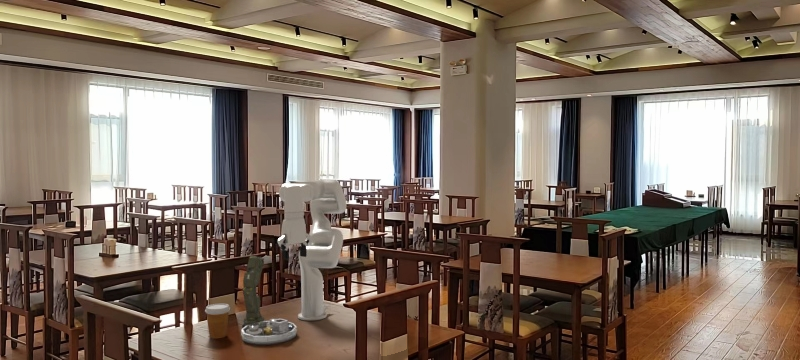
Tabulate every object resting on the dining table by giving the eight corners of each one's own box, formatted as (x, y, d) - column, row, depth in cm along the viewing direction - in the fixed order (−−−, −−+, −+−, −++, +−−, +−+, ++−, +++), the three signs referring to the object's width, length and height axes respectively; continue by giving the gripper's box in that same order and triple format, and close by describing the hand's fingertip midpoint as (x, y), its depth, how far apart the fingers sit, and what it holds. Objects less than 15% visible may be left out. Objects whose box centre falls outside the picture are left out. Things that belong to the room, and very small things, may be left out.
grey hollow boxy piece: (280, 332, 233) (280, 317, 233) (290, 335, 230) (290, 320, 229) (268, 336, 228) (268, 321, 228) (279, 339, 225) (279, 323, 224)
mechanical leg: (251, 329, 239) (257, 255, 244) (235, 328, 240) (241, 254, 246) (265, 327, 252) (271, 257, 258) (249, 326, 253) (256, 257, 259)
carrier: (271, 325, 247) (271, 314, 247) (307, 334, 235) (307, 322, 235) (230, 338, 230) (230, 326, 230) (267, 348, 218) (266, 335, 218)
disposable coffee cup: (200, 338, 230) (199, 308, 230) (215, 331, 239) (215, 302, 238) (220, 340, 227) (219, 310, 226) (235, 333, 236) (234, 304, 235)
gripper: (302, 213, 244) (303, 254, 245) (271, 217, 230) (271, 260, 231) (315, 214, 240) (316, 256, 241) (284, 218, 226) (285, 262, 227)
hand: (294, 258), depth 236 cm, fingers open, 9 cm apart
